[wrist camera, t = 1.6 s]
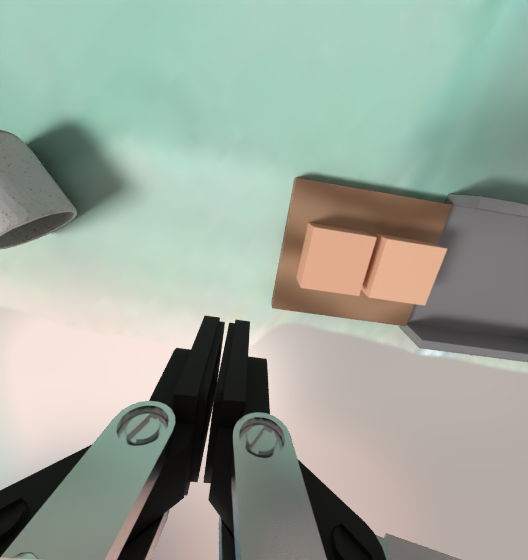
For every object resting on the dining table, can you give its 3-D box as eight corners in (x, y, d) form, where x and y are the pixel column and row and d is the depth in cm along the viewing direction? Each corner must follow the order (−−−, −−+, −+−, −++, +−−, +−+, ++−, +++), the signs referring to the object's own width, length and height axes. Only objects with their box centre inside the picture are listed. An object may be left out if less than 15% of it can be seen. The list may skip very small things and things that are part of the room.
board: (294, 177, 28) (296, 177, 26) (442, 203, 29) (452, 204, 27) (271, 302, 32) (272, 308, 31) (399, 319, 33) (406, 326, 32)
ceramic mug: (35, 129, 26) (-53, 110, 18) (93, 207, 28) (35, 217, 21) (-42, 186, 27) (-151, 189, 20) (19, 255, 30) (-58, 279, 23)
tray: (448, 194, 28) (481, 196, 24) (603, 221, 30) (660, 228, 26) (399, 327, 34) (419, 348, 30) (532, 345, 35) (570, 367, 31)
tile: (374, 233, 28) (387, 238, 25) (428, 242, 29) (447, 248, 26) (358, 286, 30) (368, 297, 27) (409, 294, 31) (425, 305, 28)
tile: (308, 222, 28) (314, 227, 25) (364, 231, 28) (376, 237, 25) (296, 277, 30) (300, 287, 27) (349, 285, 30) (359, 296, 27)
